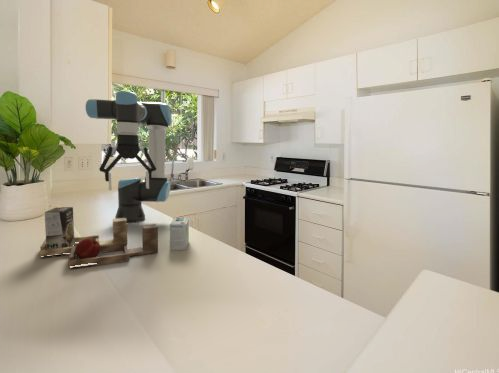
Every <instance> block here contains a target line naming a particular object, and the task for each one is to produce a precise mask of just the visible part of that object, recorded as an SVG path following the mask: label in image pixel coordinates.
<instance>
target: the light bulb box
mask: <svg viewBox="0 0 499 373" xmlns="http://www.w3.org/2000/svg"><path fill="white" fill-rule="evenodd" d="M189 224H190V218H189V217H173V218H172V221H171V223H170V224H169V251H186V250H187V248H188V244H189V241H190V240H189V238H190V236H189V233H190V232H189V229H190V225H189Z"/></svg>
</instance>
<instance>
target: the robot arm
mask: <svg viewBox="0 0 499 373" xmlns="http://www.w3.org/2000/svg"><path fill="white" fill-rule="evenodd" d="M85 112H86V115H87V116H88V117H89V118H90V119H96V120H98V119H99V120H102V119H103V120H116V133H117V135H116V141H117V142H116V143H117V145H116V147H115V146H108V148H107V153H106V154H105V157H104V159H103V161H102V163H101V165H100V166H99V168H98V169H99V171H100V172H102V173H104V180H105V182H108V190H109V191H112V172H110V171H111V170H112V169H113V168H114V167H115V166H116V165H117V164H118V163H119V161H120V160H122V159H125V160H126V159H131V160H134V159H136V160H137V161H138V162H139V163H140V165H142V166H143V168H144V169H145V170H146V171H145V177H144V180H143V179H142V178H141V177H140V176H139V177H129V178H123V179H120V180H118V184H117V194H118V195H117V197H118V198H117V199H118V201H117V204H118V208H117V210H116V214H115V216H114V219H116V218H126V219H127V224H136V223H140V222H144V221H145V220H146V214H145V212H144V209H143V206H142V203H143V202H146V203H147V202H150V203H160V202H161V203H162V202H163V203H164V202H166V201H168V198H169V195H170V191H171V181H170V180H168V176H166V174H165V167H166V166H165V165H166V164H165V162H166V132H167V131H168V130H169V127H170V126H171V125H172V122H173V121H172V120H173V119H172V113H171V108H170V106H169V104H167V103H164V102H163V103H162V102H147V101H139V100H138V95H137V93H135V92H132V91H124V90H123V91H120V90H119V91H117V92H116V93H115V100H113V99H97V98H96V99H93V98H91V99H88V100H87V101H86V102H85ZM139 124H140V125H146V129H147V130H148V147H146V146H144V147H140V145H139V143H140V142H139V135H138V134H139ZM115 151H116V152H117V153H118V155H117V156H116V157H115V158H114V159H113V160H112V162H110V164H109V165H108V166H107V167H106V165H107V164H108V162H109V159H110V158H111V156H112V154H113V153H114V152H115ZM140 152H141V153H142V154H143V155H144V157H145V158H146V160H147V162H148V164H146V162H144V160H143V159H142V158H141V156H139V153H140Z"/></svg>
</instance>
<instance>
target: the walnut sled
mask: <svg viewBox="0 0 499 373" xmlns="http://www.w3.org/2000/svg"><path fill="white" fill-rule="evenodd" d="M141 226H142V227H141V231H142V233H141V234H142V237H141V238H142V247H135V248H128V242H127V243H126V242H125V243H116V244H107V245H100V246H101V249H100V252H99V253H104V252H106V253H107V252H113V251H122V250H123V251H124V253H118V254H116V253H115V254H110V255H109V254H107V255H102V256H97V257H93V258H85V259H79V258H78V259H77V256H76V253H75V247H76V246H77V245H75V246H72V250H71V253H70V254H69V257H68V259H69V261H68V267H69V266H75V265H81V264H88V263H97V264H98V265H97V266H99V265H107V264H114V263H121V262H128V261H129V262H130V257H132V256H142V255H148V254H156V253H159V227H158V226H157V224H156V223H152V224H142V225H141ZM75 258H76V260H75Z"/></svg>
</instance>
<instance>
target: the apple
mask: <svg viewBox="0 0 499 373" xmlns="http://www.w3.org/2000/svg"><path fill="white" fill-rule="evenodd" d="M75 246H76V247H75V253H76V255H77V256H76V257H77V258H78V259H85V258H93V257H98V256H99V254H100V253H101V252H100V249H101V246H100V244H99V243H98V242H97V241H96V240H94V239H91V238H87V239H84V240H82V241H81V242H79V243H78V244H76V245H75Z"/></svg>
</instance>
